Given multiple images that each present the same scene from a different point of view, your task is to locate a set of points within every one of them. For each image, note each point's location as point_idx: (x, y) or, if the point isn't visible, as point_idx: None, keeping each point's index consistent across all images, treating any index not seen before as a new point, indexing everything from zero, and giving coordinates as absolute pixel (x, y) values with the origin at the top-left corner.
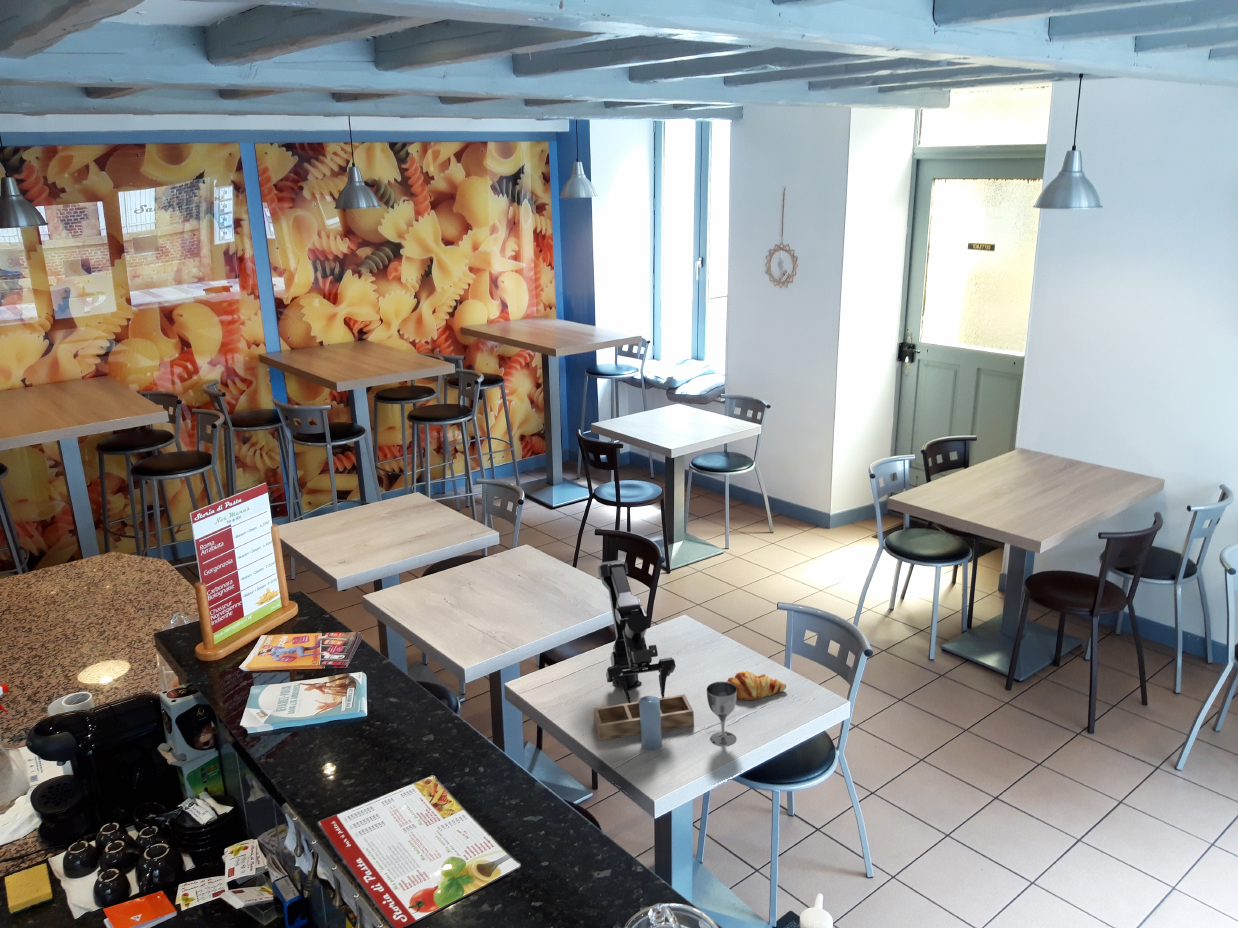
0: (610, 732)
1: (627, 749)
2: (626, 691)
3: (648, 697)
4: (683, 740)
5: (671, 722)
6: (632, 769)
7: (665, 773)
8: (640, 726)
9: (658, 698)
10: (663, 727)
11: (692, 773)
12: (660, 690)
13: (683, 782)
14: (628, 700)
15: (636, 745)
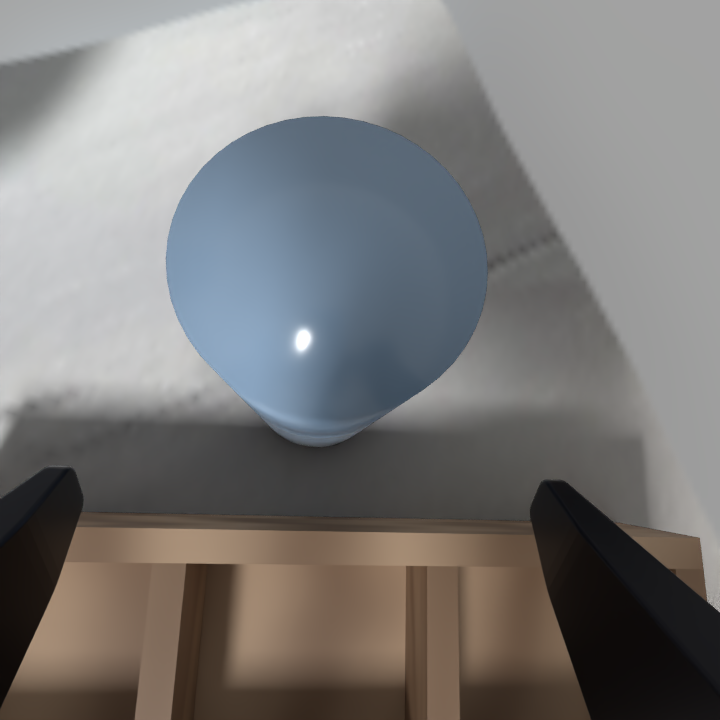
0: None
1: (472, 374)
2: (674, 605)
3: (315, 359)
4: (114, 354)
5: (115, 518)
6: (479, 189)
7: (324, 102)
8: (361, 523)
9: (170, 276)
10: (190, 516)
11: (191, 55)
12: (24, 655)
13: (261, 12)
14: (581, 497)
15: (412, 397)
